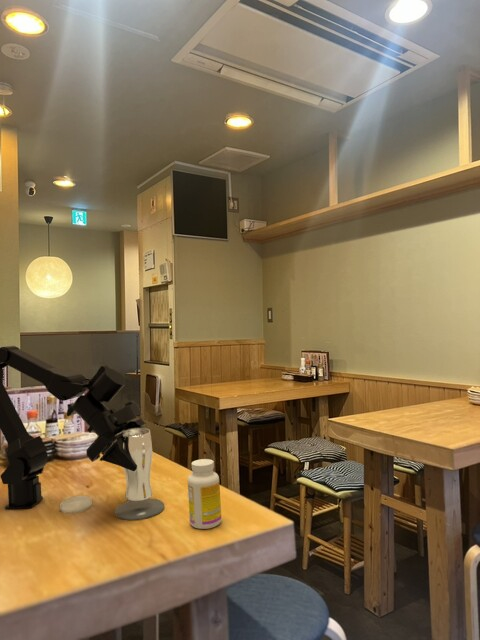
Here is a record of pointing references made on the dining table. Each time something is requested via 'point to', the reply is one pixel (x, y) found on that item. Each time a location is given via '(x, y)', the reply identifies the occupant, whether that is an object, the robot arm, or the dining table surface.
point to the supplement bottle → (204, 495)
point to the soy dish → (76, 504)
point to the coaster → (139, 509)
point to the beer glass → (138, 463)
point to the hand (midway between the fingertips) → (142, 464)
